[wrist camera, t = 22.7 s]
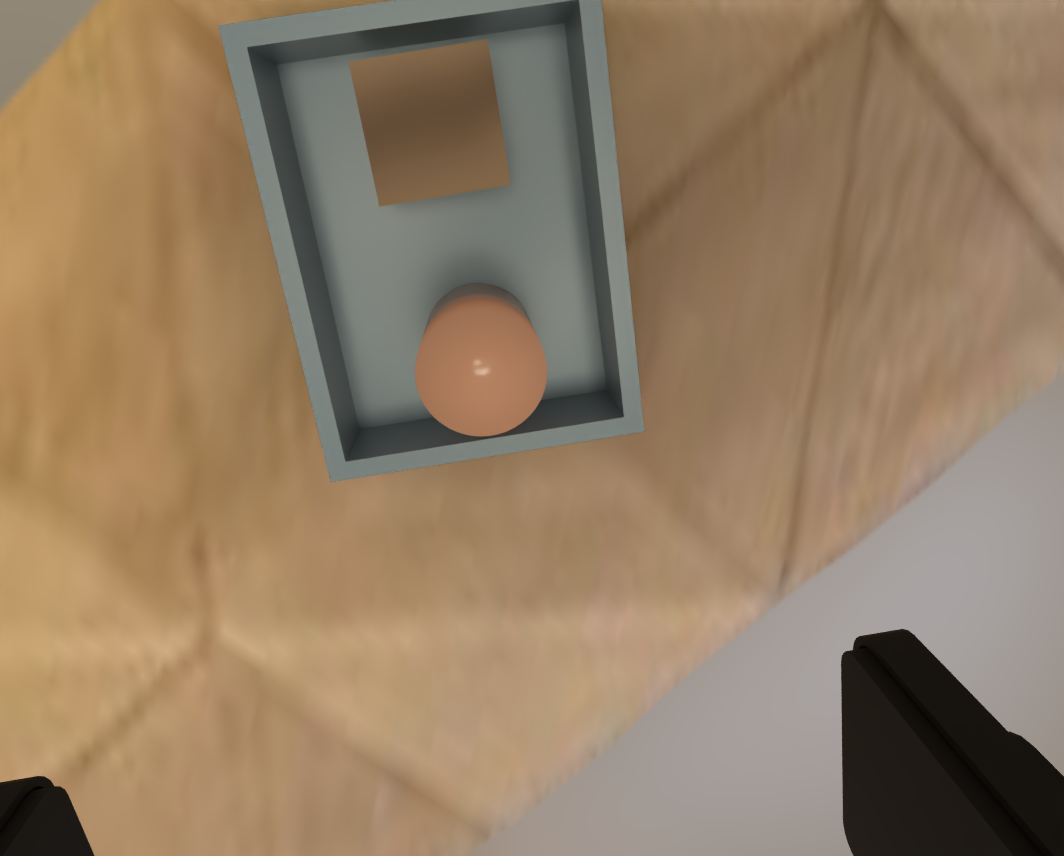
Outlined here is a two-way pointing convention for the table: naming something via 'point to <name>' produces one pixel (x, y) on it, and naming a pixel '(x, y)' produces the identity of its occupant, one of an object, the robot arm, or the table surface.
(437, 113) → the walnut cube
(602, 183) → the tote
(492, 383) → the salmon orange cylinder
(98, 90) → the table surface
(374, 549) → the table surface
